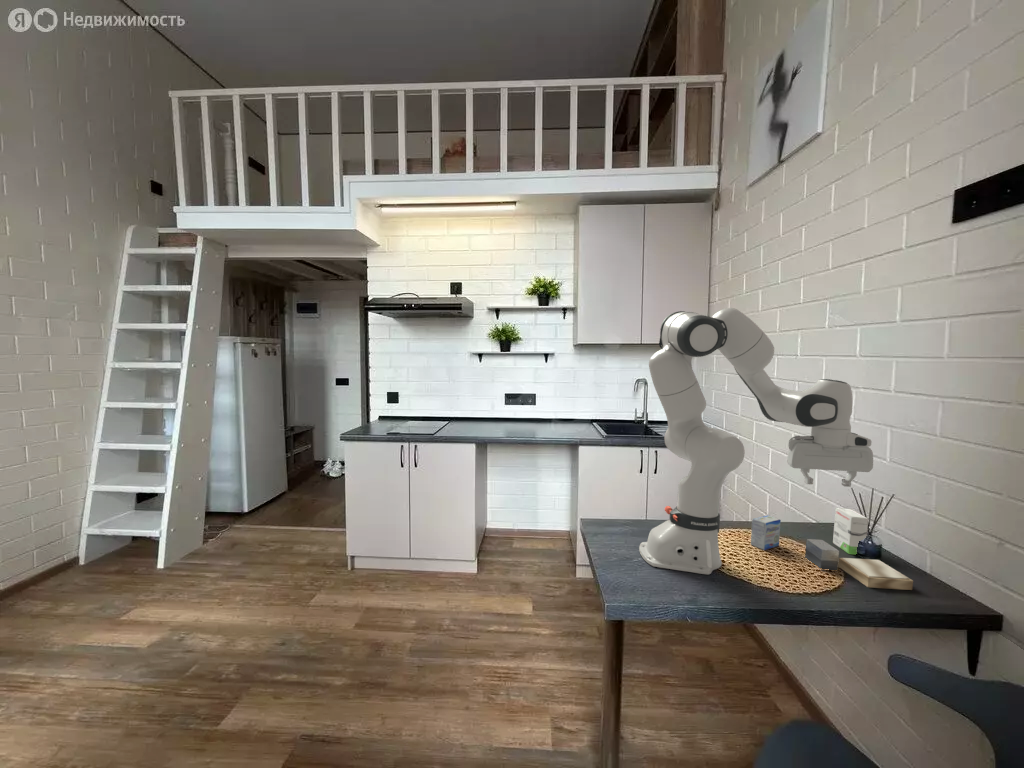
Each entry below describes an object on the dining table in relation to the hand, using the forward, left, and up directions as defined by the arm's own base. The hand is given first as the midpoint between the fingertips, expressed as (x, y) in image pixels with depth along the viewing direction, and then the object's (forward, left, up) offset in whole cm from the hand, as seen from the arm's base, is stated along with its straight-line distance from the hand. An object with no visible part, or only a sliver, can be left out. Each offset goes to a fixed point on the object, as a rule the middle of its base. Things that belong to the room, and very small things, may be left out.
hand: (827, 484), depth 120 cm
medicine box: (-10, +11, -24) cm, 28 cm away
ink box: (+16, +12, -24) cm, 31 cm away
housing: (0, 0, -24) cm, 24 cm away
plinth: (+10, -6, -24) cm, 26 cm away
